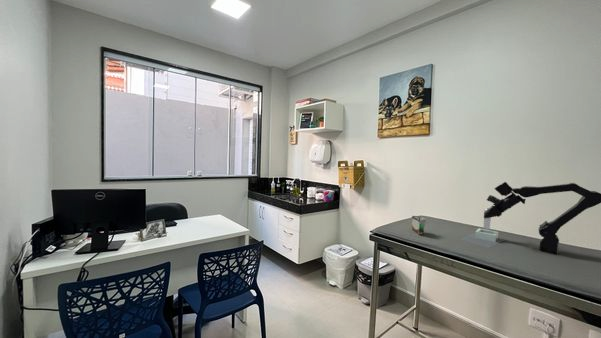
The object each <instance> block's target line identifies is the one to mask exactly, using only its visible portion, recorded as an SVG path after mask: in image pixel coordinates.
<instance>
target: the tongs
mask: <svg viewBox="0 0 601 338" xmlns="http://www.w3.org/2000/svg"><path fill="white" fill-rule="evenodd" d="M489 208H490V207H488V208H486V209H484V212H483V229H485V230H490V228H491V218H492V217H490V218H484V216H485V215H486V214H487V213H488V212H489V211H490V209H489Z"/></svg>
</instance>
